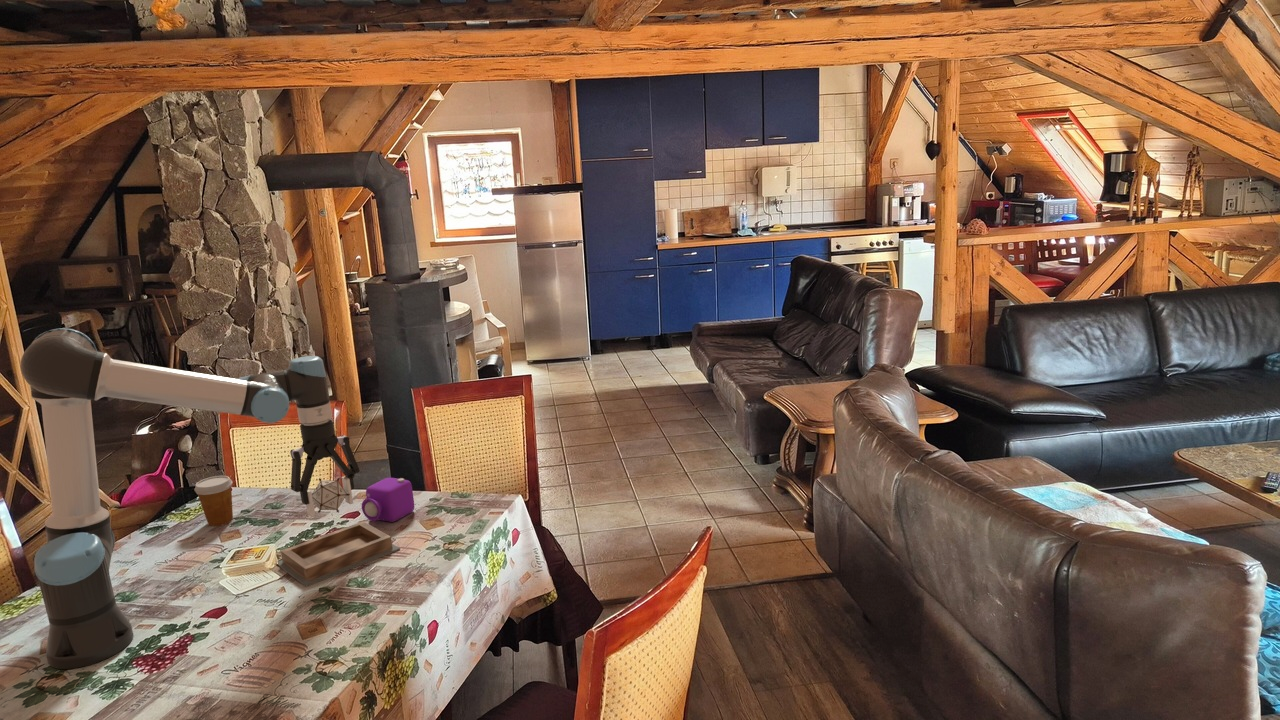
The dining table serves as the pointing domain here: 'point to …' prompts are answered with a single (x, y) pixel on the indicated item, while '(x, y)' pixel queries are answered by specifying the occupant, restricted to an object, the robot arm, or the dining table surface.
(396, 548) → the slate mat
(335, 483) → the game die
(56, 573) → the robot arm
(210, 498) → the disposable coffee cup
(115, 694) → the dining table surface
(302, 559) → the brown wooden tray
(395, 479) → the toy camera
